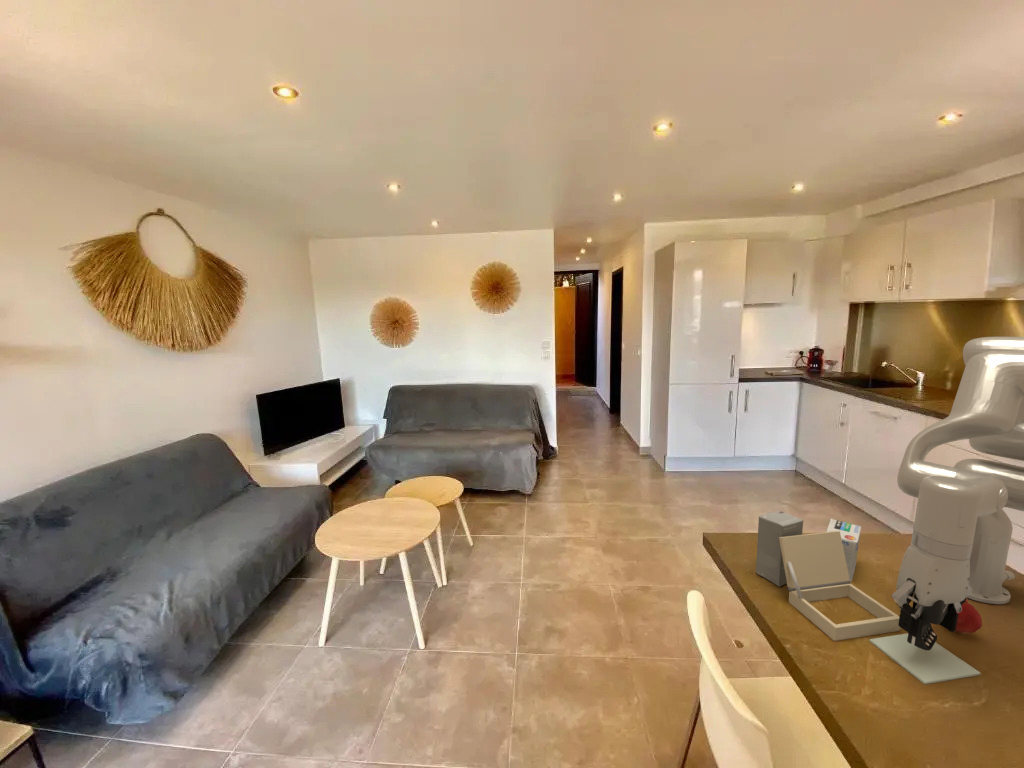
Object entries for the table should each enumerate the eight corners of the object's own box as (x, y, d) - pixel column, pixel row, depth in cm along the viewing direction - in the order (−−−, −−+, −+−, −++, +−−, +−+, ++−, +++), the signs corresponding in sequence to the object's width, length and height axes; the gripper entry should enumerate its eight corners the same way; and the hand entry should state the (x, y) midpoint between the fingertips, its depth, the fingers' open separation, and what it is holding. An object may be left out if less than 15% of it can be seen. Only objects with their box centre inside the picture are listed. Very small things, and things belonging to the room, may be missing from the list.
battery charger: (933, 657, 75) (943, 601, 73) (905, 643, 78) (914, 590, 76) (943, 640, 78) (953, 586, 76) (916, 628, 81) (925, 576, 80)
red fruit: (931, 626, 86) (937, 592, 85) (945, 618, 88) (951, 585, 87) (970, 646, 81) (977, 611, 79) (984, 637, 83) (991, 602, 82)
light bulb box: (825, 553, 112) (829, 517, 111) (857, 563, 108) (861, 525, 106) (819, 571, 105) (823, 533, 103) (852, 582, 100) (858, 542, 98)
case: (830, 582, 101) (836, 529, 98) (899, 630, 85) (909, 570, 83) (774, 589, 99) (778, 536, 96) (834, 640, 83) (841, 578, 81)
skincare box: (779, 588, 99) (785, 528, 96) (752, 571, 105) (756, 514, 103) (801, 578, 102) (807, 520, 100) (773, 563, 109) (778, 507, 106)
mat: (919, 633, 84) (919, 631, 84) (980, 674, 75) (980, 672, 74) (869, 640, 83) (869, 639, 83) (924, 684, 73) (924, 682, 73)
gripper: (955, 529, 79) (941, 610, 82) (878, 537, 77) (867, 620, 80) (1006, 550, 72) (989, 638, 75) (923, 560, 70) (908, 651, 73)
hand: (926, 628), depth 77 cm, fingers closed on battery charger, 7 cm apart
